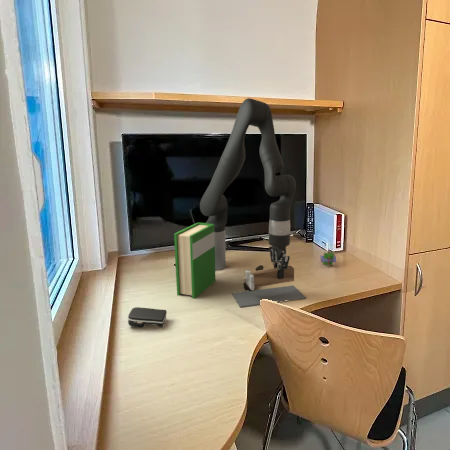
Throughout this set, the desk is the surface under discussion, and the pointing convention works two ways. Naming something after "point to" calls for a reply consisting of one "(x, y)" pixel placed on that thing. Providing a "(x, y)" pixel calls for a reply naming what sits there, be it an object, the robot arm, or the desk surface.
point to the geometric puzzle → (328, 258)
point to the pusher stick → (268, 277)
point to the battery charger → (146, 317)
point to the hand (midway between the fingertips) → (278, 276)
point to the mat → (267, 295)
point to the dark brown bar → (245, 282)
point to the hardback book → (195, 258)
